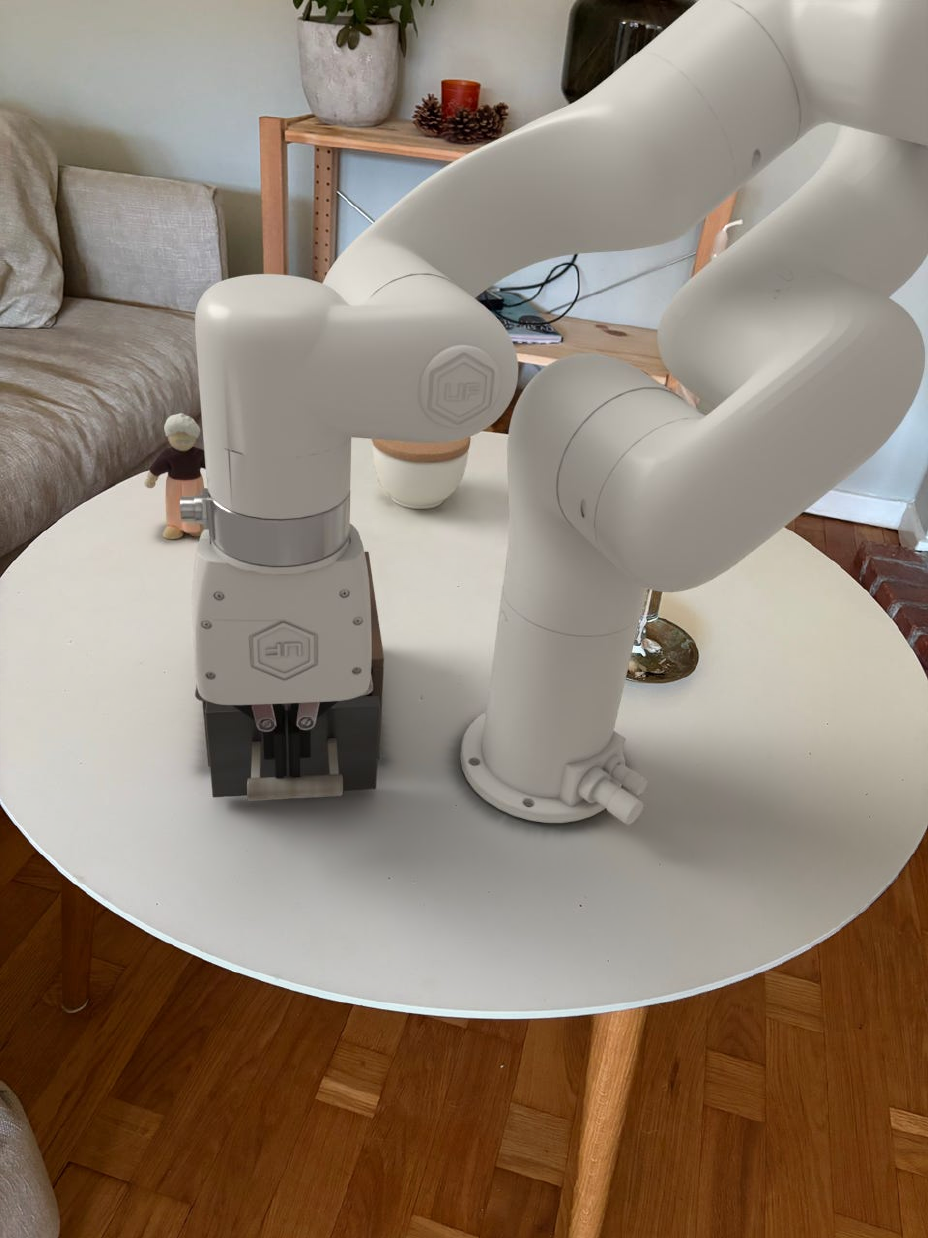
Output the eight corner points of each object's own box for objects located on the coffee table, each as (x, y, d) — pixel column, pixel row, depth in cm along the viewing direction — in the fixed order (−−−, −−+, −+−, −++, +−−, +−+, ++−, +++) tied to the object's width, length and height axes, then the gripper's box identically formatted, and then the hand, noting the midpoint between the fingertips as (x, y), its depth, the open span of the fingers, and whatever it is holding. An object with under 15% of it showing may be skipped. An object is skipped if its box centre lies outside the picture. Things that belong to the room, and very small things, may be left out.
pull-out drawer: (382, 842, 65) (386, 757, 60) (208, 852, 63) (200, 765, 58) (362, 673, 80) (365, 595, 75) (221, 677, 78) (216, 597, 73)
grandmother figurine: (159, 547, 94) (146, 427, 87) (147, 529, 97) (134, 411, 90) (234, 532, 98) (227, 416, 91) (221, 515, 101) (213, 401, 93)
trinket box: (360, 477, 110) (362, 400, 105) (449, 472, 114) (455, 397, 108) (381, 523, 102) (385, 442, 97) (476, 516, 105) (485, 436, 100)
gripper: (128, 554, 48) (163, 812, 58) (425, 550, 50) (407, 798, 61) (144, 484, 54) (173, 730, 64) (408, 484, 56) (395, 720, 67)
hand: (287, 762), depth 63 cm, fingers closed
